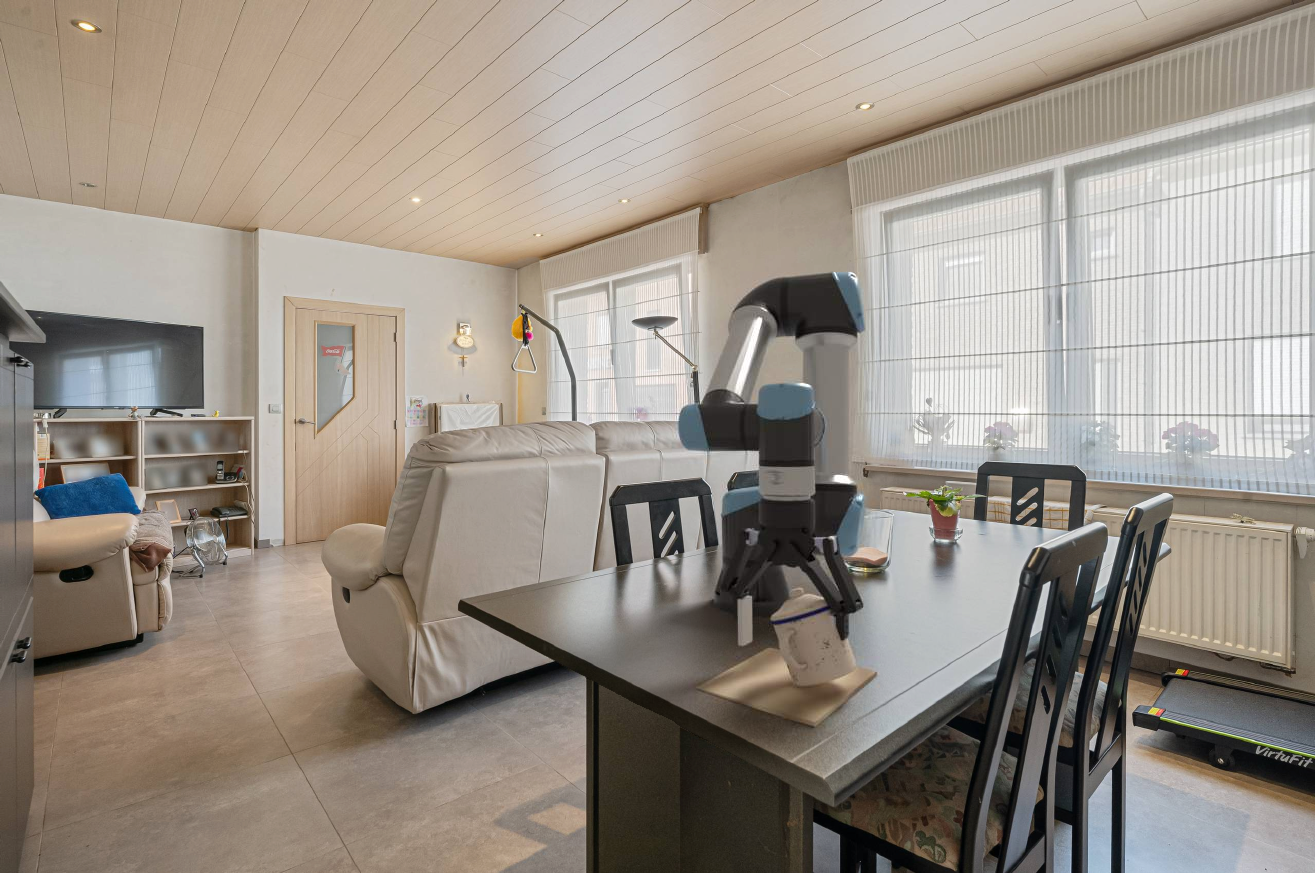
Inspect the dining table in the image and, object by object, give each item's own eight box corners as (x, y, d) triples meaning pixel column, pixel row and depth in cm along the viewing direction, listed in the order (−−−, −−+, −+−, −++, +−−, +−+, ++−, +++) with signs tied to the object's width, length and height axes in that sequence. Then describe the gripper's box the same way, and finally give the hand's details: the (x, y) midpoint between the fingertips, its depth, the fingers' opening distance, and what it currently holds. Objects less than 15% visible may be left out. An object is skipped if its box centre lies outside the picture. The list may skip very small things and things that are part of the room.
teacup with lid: (812, 670, 92) (784, 589, 94) (870, 660, 86) (839, 574, 89) (768, 699, 83) (738, 608, 85) (829, 690, 77) (796, 593, 80)
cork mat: (695, 692, 86) (695, 687, 86) (769, 651, 102) (769, 647, 102) (815, 726, 76) (815, 721, 76) (877, 675, 91) (876, 671, 91)
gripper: (695, 494, 93) (697, 642, 94) (866, 505, 78) (868, 682, 78) (724, 490, 99) (725, 629, 100) (887, 499, 84) (889, 664, 84)
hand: (788, 653), depth 89 cm, fingers open, 13 cm apart
